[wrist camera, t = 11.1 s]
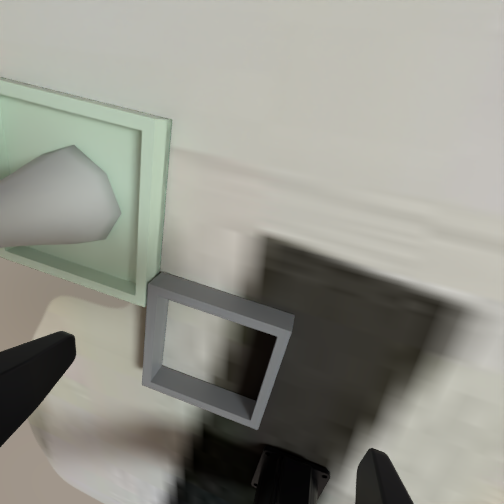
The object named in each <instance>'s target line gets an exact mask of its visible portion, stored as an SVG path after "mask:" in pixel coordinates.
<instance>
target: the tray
mask: <svg viewBox="0 0 504 504" xmlns="http://www.w3.org/2000/svg"><path fill="white" fill-rule="evenodd" d="M171 127H172V120H171V119H167V118H163V117H159V116H155V115H151V114H147V113H143V112H139V111H135V110H131V109H127V108H123V107H119V106H115V105H111V104H107V103H103V102H99V101H95V100H90V99H86V98H82V97H78V96H74V95H70V94H66V93H62V92H58V91H54V90H50V89H46V88H42V87H38V86H34V85H30V84H26V83H22V82H18V81H14V80H10V79H6V78H2V77H0V180H2V179H3V178H5V177H7V176H8V175H10V174H12V173H13V172H15V171H16V170H18V169H19V168H21V167H23V166H24V165H26V164H27V163H29V162H30V161H32V160H33V159H35V158H37V157H38V156H40V155H42V154H44V153H47V152H51V151H54V150H57V149H61V148H64V147H68V146H71V145H75V146H76V147H77V148H78V149H79V150H81V151H82V152H83V153H84V154H85V155H86V156H87V157H88V158H90V159H91V160H92V161H93V162H94V163H95V164H96V165H97V166H99V167H100V168H101V169H102V170H103V171H104V172H105V173H106V174H107V176H108V179H109V181H110V184H111V187H112V189H113V192H114V194H115V197H116V200H117V202H118V205H119V208H120V210H121V213H122V214H121V215H120V217H119V218H118V220H117V222H116V223H115V225H114V227H113V228H112V230H111V231H110V233H109V235H108V236H107V238H106V239H104V240H98V241H91V242H85V243H78V244H58V245H31V246H16V247H2V248H0V257H2V258H4V259H7V260H10V261H13V262H16V263H19V264H22V265H24V266H28V267H30V268H33V269H36V270H39V271H42V272H44V273H47V274H50V275H53V276H56V277H59V278H61V279H65V280H67V281H70V282H73V283H76V284H79V285H82V286H84V287H87V288H90V289H93V290H96V291H99V292H102V293H104V294H108V295H111V296H113V297H116V298H119V299H122V300H124V301H127V302H130V303H133V304H136V305H139V306H142V307H145V306H146V305H147V294H148V283H149V282H151V281H152V280H153V279H154V278H155V277H156V276H158V275H159V274H160V263H161V251H162V238H163V226H164V214H165V201H166V189H167V177H168V164H169V152H170V140H171Z"/></svg>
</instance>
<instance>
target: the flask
mask: <svg viewBox="0 0 504 504" xmlns="http://www.w3.org/2000/svg"><path fill="white" fill-rule="evenodd" d="M121 214H122V213H121V210H120V208H119V205H118V202H117V200H116V197H115V194H114V192H113V189H112V187H111V184H110V181H109V179H108V176H107V174H106V173H105V172H104V171H103V170H102V169H101V168H100V167H99V166H97V165H96V164H95V163H94V162H93V161H92V160H91V159H90V158H88V157H87V156H86V155H85V154H84V153H83V152H82V151H81V150H79V149H78V148H77V147H76V146H75V145H71V146H68V147H64V148H61V149H57V150H54V151H51V152H47V153H44V154H42V155H40V156H38V157H37V158H35V159H33V160H32V161H30V162H29V163H27V164H26V165H24V166H23V167H21V168H19V169H18V170H16V171H15V172H13V173H12V174H10V175H8V176H7V177H5V178H3V179H2V180H0V248H2V247H16V246H31V245H58V244H78V243H85V242H91V241H98V240H104V239H106V238H107V236H108V235H109V233H110V231H111V230H112V228H113V227H114V225H115V223H116V222H117V220H118V218H119V217H120V215H121Z"/></svg>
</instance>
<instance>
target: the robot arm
mask: <svg viewBox="0 0 504 504" xmlns="http://www.w3.org/2000/svg"><path fill="white" fill-rule="evenodd" d="M75 357H76V345H75V337H74V335H72V334H70V333H67V332H64V331H59V332H56V333H53V334H50V335H47V336H44V337H41V338H39V339H36V340H33V341H30V342H27V343H24V344H22V345H19V346H16V347H13V348H10V349H7V350H4V351H2V352H0V447H1V446H2V445H3V444H4V443H5V442H6V440H7V439H8V438H9V437H10V436H11V435H12V434H13V433H14V432H15V431H16V430H17V429H18V427H20V426H21V424H22V423H23V422H24V421H25V420H26V419H27V418H28V417H29V416H30V415H31V414H32V413H33V411H34V410H35V409H36V408H37V407H38V406H39V404H40V403H41V402H42V401H43V400H44V398H45V397H46V396H47V395H48V393H49V392H50V391H51V389H52V388H53V387H54V386H55V384H56V383H57V382H58V381H59V379H60V378H61V377H62V375H63V374H64V373H65V372H66V370H67V369H68V368H69V367H70V365H71V364H72V363H73V361H74V359H75ZM329 479H330V472H329V471H328V470H327V469H324V468H322V467H319V466H317V465H314V464H312V463H309V462H307V461H304V460H302V459H299V458H297V457H294V456H292V455H289V454H287V453H284V452H282V451H279V450H277V449H274V448H271V447H268V446H266V447H264V449H263V451H262V454H261V457H260V459H259V462H258V465H257V467H256V470H255V473H254V475H253V478H252V482H251V485H252V486H253V487H255V488H257V489H256V494H255V499H254V503H253V504H317V499H318V498H319V496H320V494H321V493H322V491H323V489H324V488H325V486H326V484H327V482H328V481H329ZM355 504H414V503H413V501H412V500H411V498H410V496H409V494H408V492H407V490H406V488H405V486H404V485H403V483H402V481H401V479H400V477H399V475H398V473H397V472H396V470H395V468H394V466H393V464H392V462H391V460H390V459H389V457H388V456H387V454H385V453H384V452H381V451H379V450H376V449H373V448H370V449H369V450H368V451H367V453H366V454H365V456H364V457H363V459H362V460H361V462H360V464H359V466H358V469H357V479H356V502H355Z"/></svg>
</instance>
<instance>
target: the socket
mask: <svg viewBox="0 0 504 504" xmlns="http://www.w3.org/2000/svg"><path fill="white" fill-rule="evenodd" d="M169 300H171V301H174V302H177V303H180V304H183V305H186V306H189V307H192V308H195V309H198V310H201V311H204V312H206V313H209V314H212V315H215V316H218V317H221V318H224V319H227V320H230V321H233V322H236V323H239V324H242V325H245V326H247V327H250V328H253V329H256V330H259V331H262V332H265V333H268V334H271V335H274V336H277V338H276V341H275V344H274V347H273V350H272V353H271V356H270V359H269V363H268V366H267V369H266V372H265V375H264V378H263V381H262V384H261V388H260V391H259V394H258V397H257V400H256V401H255V400H252V399H250V398H247V397H244V396H242V395H239V394H236V393H234V392H231V391H228V390H226V389H223V388H220V387H218V386H215V385H212V384H210V383H207V382H204V381H202V380H199V379H196V378H194V377H191V376H188V375H186V374H183V373H180V372H178V371H175V370H172V369H170V368H167V367H165V366H162V361H163V351H164V341H165V331H166V321H167V311H168V301H169ZM294 318H295V315H293V314H290V313H287V312H284V311H281V310H278V309H274V308H271V307H268V306H265V305H262V304H259V303H256V302H253V301H250V300H247V299H244V298H241V297H238V296H235V295H232V294H229V293H226V292H223V291H220V290H217V289H213V288H210V287H207V286H204V285H201V284H198V283H195V282H192V281H189V280H186V279H183V278H180V277H177V276H174V275H171V274H168V273H165V272H161V273H160V274H159V275H158V276H156V277H155V278H154V279H153V280H152V281H151V282H149V283H148V294H147V310H146V326H145V343H144V359H143V375H142V385H143V386H146V387H148V388H151V389H154V390H156V391H159V392H161V393H164V394H166V395H169V396H172V397H174V398H177V399H179V400H182V401H184V402H187V403H189V404H192V405H195V406H197V407H200V408H202V409H205V410H207V411H210V412H213V413H215V414H218V415H220V416H223V417H225V418H228V419H230V420H233V421H236V422H238V423H241V424H243V425H246V426H248V427H251V428H254V429H256V430H258V428H259V425H260V422H261V419H262V416H263V413H264V410H265V408H266V405H267V402H268V399H269V396H270V393H271V390H272V387H273V384H274V382H275V379H276V376H277V373H278V370H279V367H280V364H281V361H282V358H283V356H284V353H285V350H286V347H287V344H288V341H289V338H290V335H291V332H292V328H293V323H294Z"/></svg>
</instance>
